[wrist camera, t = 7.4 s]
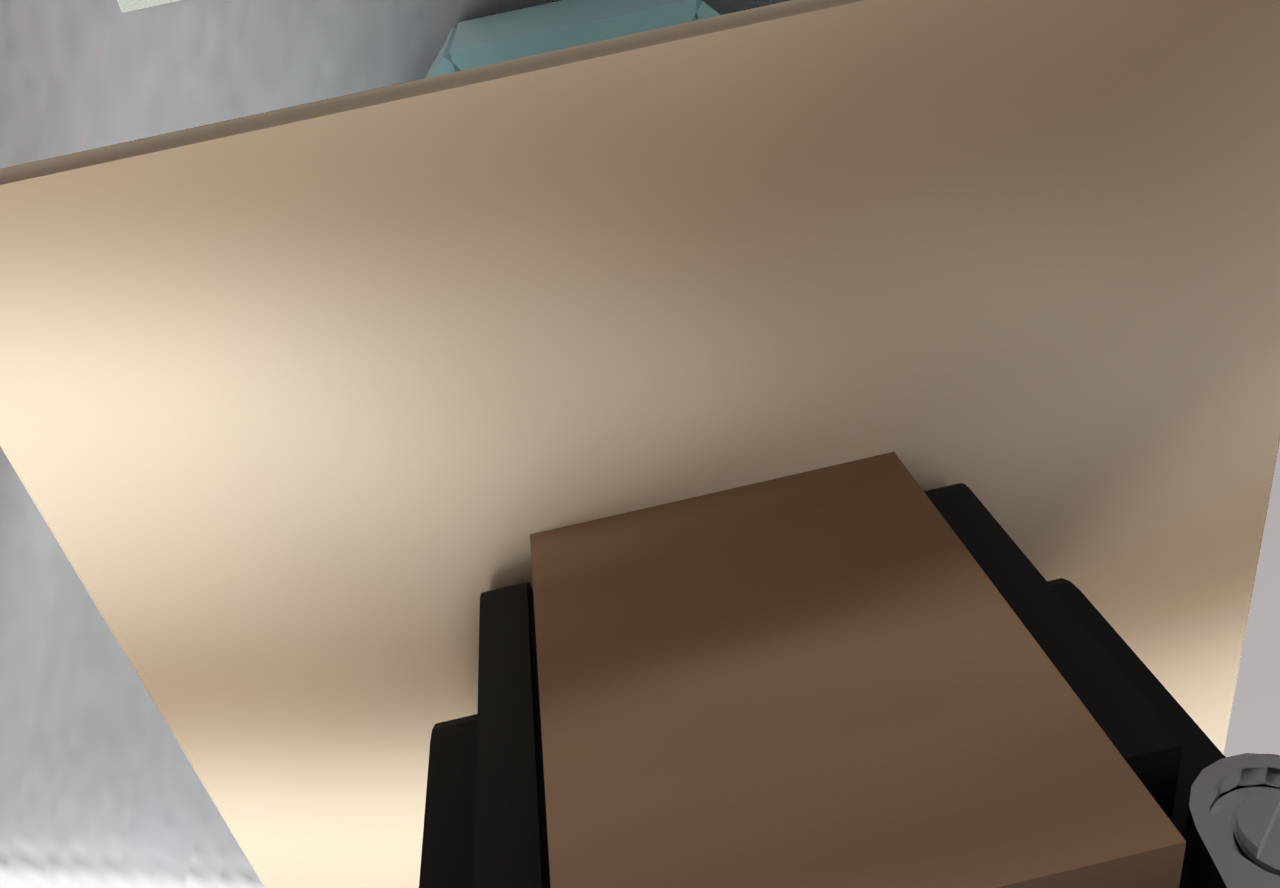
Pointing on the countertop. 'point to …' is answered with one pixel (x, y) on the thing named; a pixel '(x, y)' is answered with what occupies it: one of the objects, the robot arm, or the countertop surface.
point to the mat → (140, 4)
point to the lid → (680, 431)
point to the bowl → (557, 29)
